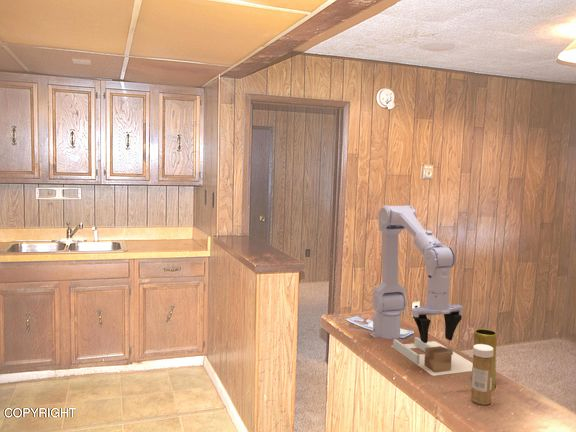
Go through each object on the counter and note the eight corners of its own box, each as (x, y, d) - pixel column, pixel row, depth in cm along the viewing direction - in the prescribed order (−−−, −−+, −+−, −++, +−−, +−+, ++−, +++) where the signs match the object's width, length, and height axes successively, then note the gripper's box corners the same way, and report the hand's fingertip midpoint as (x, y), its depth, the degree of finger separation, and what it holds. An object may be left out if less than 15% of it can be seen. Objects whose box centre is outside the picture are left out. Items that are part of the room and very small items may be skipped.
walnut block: (424, 365, 139) (425, 347, 139) (440, 363, 141) (441, 346, 140) (434, 372, 135) (435, 354, 134) (450, 370, 136) (451, 352, 135)
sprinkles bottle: (495, 402, 121) (497, 347, 120) (483, 407, 118) (485, 351, 117) (478, 395, 125) (481, 342, 123) (466, 399, 122) (469, 345, 121)
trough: (393, 347, 153) (393, 339, 153) (416, 344, 155) (416, 337, 155) (416, 364, 140) (416, 355, 140) (441, 361, 142) (442, 352, 142)
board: (390, 350, 155) (390, 345, 154) (435, 345, 159) (435, 341, 159) (432, 381, 133) (432, 375, 132) (482, 374, 137) (483, 369, 137)
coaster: (427, 349, 151) (427, 348, 151) (445, 347, 153) (445, 346, 153) (438, 357, 146) (439, 355, 145) (457, 354, 147) (457, 353, 147)
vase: (465, 382, 132) (467, 329, 130) (484, 379, 134) (486, 327, 133) (482, 392, 126) (484, 337, 125) (501, 389, 128) (504, 334, 127)
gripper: (422, 296, 130) (420, 348, 132) (470, 293, 135) (468, 342, 136) (408, 290, 137) (406, 339, 138) (454, 287, 141) (452, 334, 143)
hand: (436, 340), depth 138 cm, fingers open, 7 cm apart
